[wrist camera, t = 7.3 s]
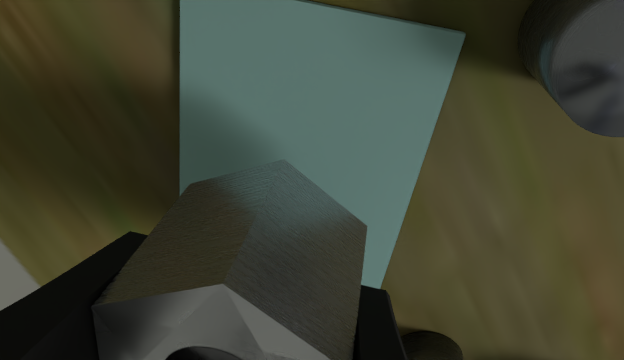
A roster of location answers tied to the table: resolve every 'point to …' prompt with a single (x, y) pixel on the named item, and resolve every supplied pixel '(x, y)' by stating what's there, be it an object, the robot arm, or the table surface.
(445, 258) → the table surface
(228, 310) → the steel nut
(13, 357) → the robot arm
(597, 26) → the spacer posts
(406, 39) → the mat
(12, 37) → the table surface
